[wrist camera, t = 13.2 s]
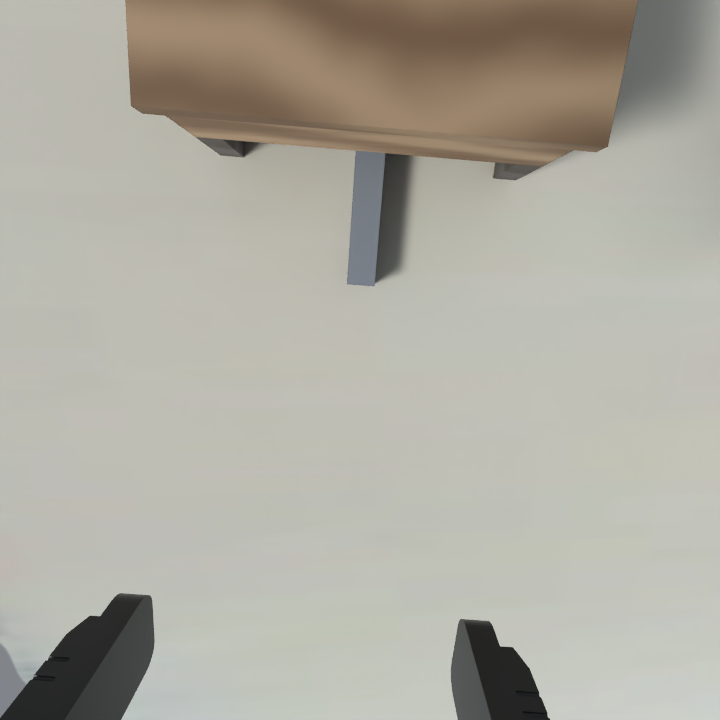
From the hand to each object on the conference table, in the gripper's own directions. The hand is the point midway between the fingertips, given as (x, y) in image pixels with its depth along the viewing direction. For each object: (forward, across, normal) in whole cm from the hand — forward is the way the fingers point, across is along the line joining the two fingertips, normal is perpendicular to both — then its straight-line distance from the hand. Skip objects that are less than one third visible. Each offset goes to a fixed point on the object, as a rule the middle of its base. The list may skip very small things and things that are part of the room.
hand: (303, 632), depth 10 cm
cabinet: (+30, -1, -22) cm, 37 cm away
